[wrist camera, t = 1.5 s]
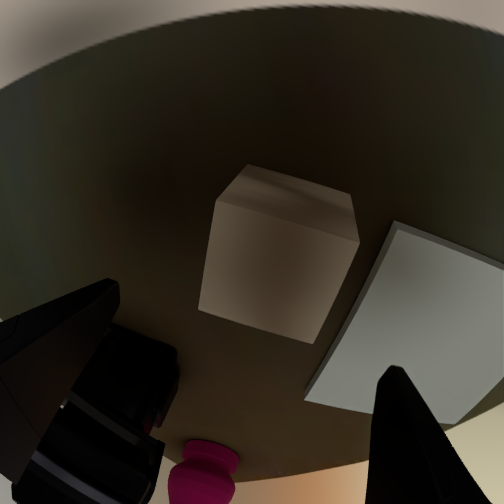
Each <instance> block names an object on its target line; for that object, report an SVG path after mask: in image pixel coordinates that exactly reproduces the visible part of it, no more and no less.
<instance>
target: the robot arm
mask: <svg viewBox="0 0 504 504" xmlns="http://www.w3.org/2000/svg"><path fill="white" fill-rule="evenodd" d="M119 304H120V290H119V283H118V282H117V281H115V280H112V279H109V278H106V279H103V280H101V281H98V282H96V283H93V284H91V285H88V286H86V287H84V288H81V289H79V290H76V291H74V292H71V293H69V294H66V295H64V296H62V297H59V298H57V299H54V300H52V301H50V302H47V303H45V304H43V305H40V306H38V307H35V308H33V309H31V310H28V311H26V312H24V313H21V314H20V315H16V316H14V317H12V318H10V319H7V320H5V321H2V322H0V473H1V474H2V475H3V476H5V477H6V478H7V479H8V480H10V481H11V482H12V485H11V489H12V499H13V500H14V501H15V502H16V503H17V504H148V502H149V501H150V499H151V497H152V495H153V493H154V490H155V486H156V482H157V478H158V474H159V469H160V465H161V461H162V456H163V452H164V448H165V443H164V442H162V441H160V440H156V439H155V438H153V437H151V436H150V435H149V434H150V432H151V430H152V427H153V426H154V427H156V428H159V427H161V426H162V423H163V421H164V419H165V417H166V415H167V412H168V410H169V408H170V406H171V404H172V402H173V399H174V397H175V395H176V393H177V391H178V380H179V374H178V372H177V371H176V359H177V353H176V351H175V350H174V349H172V348H170V347H167V346H164V345H162V344H159V343H157V342H154V341H151V340H149V339H146V338H144V337H141V336H139V335H136V334H134V333H131V332H129V331H127V330H124V329H122V328H119V327H117V326H115V325H112V324H110V323H111V321H112V319H113V317H114V315H115V313H116V311H117V309H118V307H119ZM61 405H63V406H64V407H63V409H62V408H61V407H60V406H61ZM365 504H492V503H491V502H490V501H489V500H488V498H487V497H486V496H485V495H484V493H483V492H482V490H481V489H480V487H479V486H478V484H477V483H476V481H475V480H474V479H473V477H472V476H471V475H470V473H469V471H468V470H467V468H466V467H465V465H464V464H463V462H462V461H461V459H460V457H459V456H458V454H457V452H456V451H455V449H454V447H452V444H451V443H450V441H449V440H448V438H447V436H446V434H445V433H444V431H443V429H442V428H441V426H440V424H439V423H438V421H437V420H436V418H435V416H434V415H433V413H432V412H431V410H430V408H429V407H428V405H427V404H426V402H425V401H424V399H423V397H422V396H421V394H420V393H419V391H418V390H417V388H416V387H415V385H414V384H413V382H412V380H411V379H410V377H409V376H408V374H407V373H406V371H405V370H404V368H403V367H401V366H396V365H390V366H389V367H388V368H387V370H386V371H385V372H384V374H383V375H382V376H381V377H380V379H379V380H378V383H377V387H376V395H375V402H374V409H373V416H372V423H371V437H370V454H369V467H368V479H367V489H366V499H365Z"/></svg>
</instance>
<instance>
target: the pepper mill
mask: <svg viewBox="0 0 504 504" xmlns="http://www.w3.org/2000/svg"><path fill="white" fill-rule="evenodd" d="M182 458H183V459H184V461H183V462H181V463H179V464H177V465H175V466H174V467H173V468H172V469H171V471H170V475H169V478H168V494H169V503H170V504H229V502H230V501H231V499H232V497H233V495H234V492H235V484H234V482H233V480H232V478H231V476H230V475H231V474H233V473H235V472H236V469H237V465H238V462H239V457H238V455H237V454H236V453H235V452H234V451H232V450H231V449H229V448H227V447H225V446H222V445H220V444H217V443H213V442H210V441H204V440H191V441H188V442H187V443H186V445H185V448H184V450H183V453H182Z"/></svg>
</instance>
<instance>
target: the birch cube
mask: <svg viewBox="0 0 504 504" xmlns="http://www.w3.org/2000/svg"><path fill="white" fill-rule="evenodd" d="M359 244H360V241H359V235H358V230H357V225H356V220H355V215H354V210H353V205H352V200H351V196H350V194H348V193H345V192H342V191H339V190H335V189H332V188H329V187H326V186H323V185H320V184H316V183H313V182H310V181H306V180H303V179H300V178H296V177H293V176H289V175H286V174H283V173H279V172H275V171H272V170H268V169H265V168H261V167H257V166H254V165H250V164H247V165H246V167H245V168H244V169H243V170H242V171H241V172H240V173H239V174H238V176H237V177H236V178H235V179H234V180H233V181H232V182H231V184H230V185H229V186H228V187H227V188H226V189H225V190H224V192H223V193H222V194H221V195H220V196H219V197H218V199H217V200H216V203H215V208H214V214H213V220H212V225H211V231H210V237H209V243H208V249H207V255H206V261H205V268H204V274H203V280H202V287H201V293H200V300H199V307H198V310H201V311H204V312H207V313H210V314H213V315H216V316H219V317H222V318H225V319H229V320H232V321H235V322H238V323H241V324H245V325H248V326H251V327H255V328H258V329H261V330H265V331H268V332H271V333H275V334H278V335H282V336H285V337H289V338H292V339H296V340H300V341H303V342H307V343H311V344H313V343H314V341H315V339H316V337H317V335H318V333H319V331H320V329H321V327H322V325H323V323H324V321H325V319H326V317H327V315H328V313H329V311H330V308H331V306H332V304H333V302H334V300H335V298H336V296H337V294H338V291H339V289H340V287H341V285H342V283H343V281H344V278H345V276H346V274H347V272H348V270H349V267H350V265H351V263H352V260H353V258H354V256H355V254H356V251H357V249H358V247H359Z"/></svg>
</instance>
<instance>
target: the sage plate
mask: <svg viewBox="0 0 504 504" xmlns="http://www.w3.org/2000/svg"><path fill="white" fill-rule="evenodd" d="M390 365H396V366H401V367H403V368H404V370H405V371H406V373H407V374H408V376H409V377H410V379H411V380H412V382H413V384H414V385H415V387H416V388H417V390H418V391H419V393H420V394H421V396H422V397H423V399H424V401H425V402H426V404H427V405H428V407H429V408H430V410H431V412H432V413H433V415H434V416H435V418H436V420H437V421H438V423H447V424H455V423H457V422H458V421H459V420H460V419H461V418H462V417H463V416H464V415H466V414H467V413H468V412H469V411H470V410H471V409H472V408H473V407H474V406H475V405H476V404H477V403H478V402H479V401H480V400H481V399H483V398H484V397H485V396H486V395H487V394H488V393H489V392H490V391H491V389H492V388H493V387H494V386H495V385H496V384H497V383H498V382H499V381H500V380H501V379H502V378H503V377H504V264H502V263H500V262H498V261H496V260H493V259H491V258H489V257H486V256H484V255H482V254H479V253H477V252H475V251H472V250H470V249H467V248H465V247H462V246H460V245H458V244H455V243H453V242H450V241H448V240H445V239H442V238H440V237H437V236H435V235H432V234H430V233H427V232H424V231H422V230H419V229H416V228H414V227H411V226H408V225H406V224H403V223H400V222H397V221H395V220H394V221H393V223H392V226H391V228H390V230H389V233H388V235H387V237H386V239H385V242H384V244H383V246H382V248H381V250H380V252H379V255H378V257H377V259H376V261H375V263H374V265H373V267H372V269H371V271H370V274H369V276H368V278H367V280H366V282H365V284H364V286H363V288H362V290H361V292H360V294H359V296H358V298H357V299H356V301H355V303H354V305H353V307H352V309H351V311H350V313H349V315H348V317H347V319H346V320H345V322H344V324H343V326H342V328H341V330H340V331H339V333H338V335H337V337H336V339H335V340H334V342H333V344H332V346H331V347H330V349H329V351H328V353H327V354H326V356H325V358H324V360H323V361H322V363H321V365H320V366H319V368H318V370H317V371H316V373H315V375H314V376H313V378H312V380H311V381H310V383H309V385H308V386H307V388H306V390H305V398H304V400H307V401H311V402H315V403H320V404H324V405H329V406H334V407H339V408H343V409H349V410H354V411H359V412H365V413H370V414H373V409H374V402H375V395H376V387H377V383H378V380H379V379H380V377H381V376H382V375H383V374H384V372H385V371H386V370H387V368H388V367H389V366H390Z"/></svg>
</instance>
